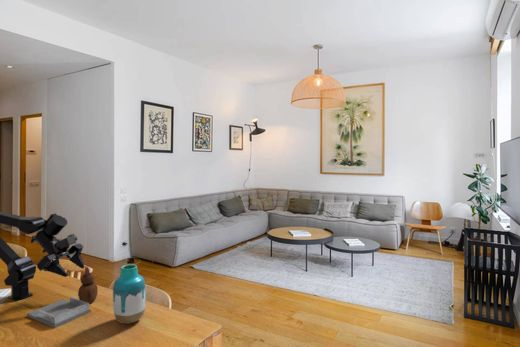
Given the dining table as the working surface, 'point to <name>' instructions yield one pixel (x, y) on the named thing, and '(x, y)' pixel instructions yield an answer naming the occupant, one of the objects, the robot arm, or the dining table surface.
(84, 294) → the wooden figurine
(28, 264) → the robot arm
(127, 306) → the vase
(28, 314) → the grey shallow rectangular tray
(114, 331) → the dining table surface
